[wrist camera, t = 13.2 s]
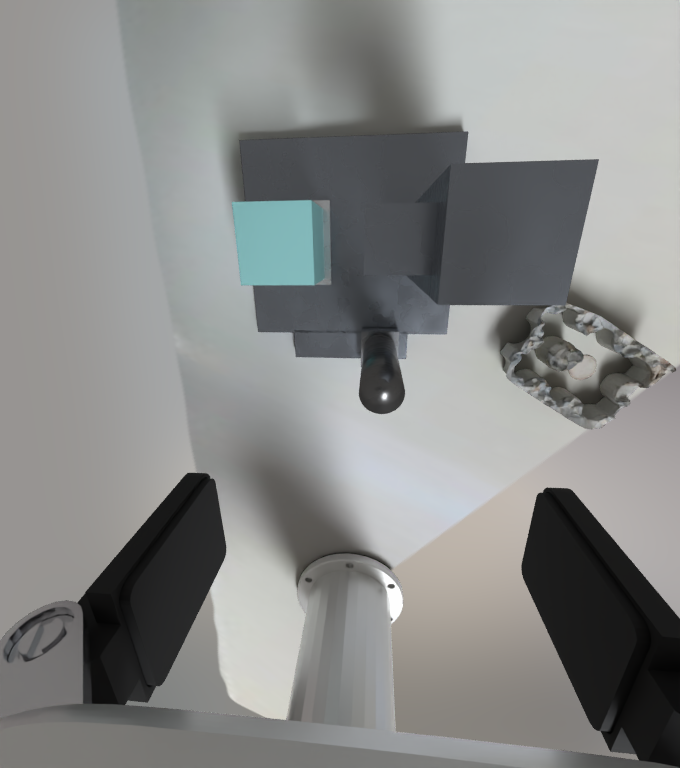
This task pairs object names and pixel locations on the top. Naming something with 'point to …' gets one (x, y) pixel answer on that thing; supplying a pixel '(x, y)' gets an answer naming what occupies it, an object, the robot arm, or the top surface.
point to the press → (415, 233)
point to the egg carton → (582, 365)
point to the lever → (380, 370)
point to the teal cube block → (279, 242)
